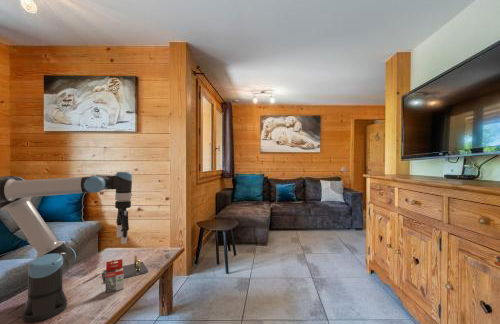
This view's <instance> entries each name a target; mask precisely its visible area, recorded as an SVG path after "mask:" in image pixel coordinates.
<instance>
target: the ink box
mask: <svg viewBox="0 0 500 324" xmlns="http://www.w3.org/2000/svg"><path fill="white" fill-rule="evenodd" d="M114 260H115V259H114ZM123 260H124V259H123V258H121V259H120V258H119V259H117V260H115V261H112V260H110V261H106V263H105V264H106V267H105V268H106V269H105V270H106V282H105V294H109V293H112V292H116V291H120V290H124V279H125V278H124V271H123V268H122V266H123ZM113 262H115V263H113ZM112 263H113V264H112Z"/></svg>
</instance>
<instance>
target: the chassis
mask: <svg viewBox="0 0 500 324" xmlns="http://www.w3.org/2000/svg"><path fill="white" fill-rule="evenodd" d="M111 261H115V259H113V260H111ZM113 263H116V262H113ZM113 263H111V264H113ZM122 268H123V271H124V279H127V278H130V277H134V276H135V277H136V276H138V275H144V274H146V273H149V269H148V267H147V266H146V265H145V263H144V262H143V261H141V259H138V255H134V261H133V263H130V264H127V265H122ZM102 273H103V277H104V281H105V283H106V269H104V270H103V271H102Z"/></svg>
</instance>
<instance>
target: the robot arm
mask: <svg viewBox="0 0 500 324" xmlns="http://www.w3.org/2000/svg"><path fill="white" fill-rule="evenodd" d="M132 184H133V174H132V172H130V171H117V172H116V174H115V175H110V174H109V175H104V174H103V175H102V174H95V175H94V174H93V175H91V176H77V177H76V176H75V177H61V178H59V177H58V178H43V179H42V178H41V179H40V178H39V179H24V178H22V177H19V176H16V175H15V176H14V175H7V176H5V175H4V176H0V210H3V211H7V212H8V213H9V215H10V216H11V218H12V219H13V221H14V222H15V224H16V225H17V227H18V228H19V229H20V230H21V231H22V232H23V234H24V236H25V237H26V239H27V240H28V242H29V243H30V244H31V246H32V247H33V249H34V250H35V251H36V253H37V254H36V256H35V258H34V259H32V260H31V261H30V263H28V269H27V300H26V302H25V305H24V307H23V309H22V313H21V321H22V322H24V323H37V322H41V321H42V322H43V321H44V320H48V319H50V318H52V317H55V316H57V315H59V314H60V313H62V312H63V311H65V310H66V308H67V307H68V298H67V297H66V294H65V292H64V288H63V283H64V282H63V279H64V277H63V276H64V275H65V274H66V273H67V272H68V271H69V270H70V269H72V268H73V265H74V264H75V262H76V258H77V254H76V251H75V250H74V249H73V248H72V247H70V246H67V245H66V244H65V242H64V241H59V240H58V239H57V237H56V236H55V235H54V233H53V232H52V230H51V228H49V226H48V224H47V223H46V222H45V220H44V218H43V217H42V216H41V215H40V212H39V211H38V210H37V209H36V207H35V206H34V204H33V203H32V201H31V199H32V198H34V197H49V196H61V195H71V194H72V195H73V194H89V193H91V194H92V193H93V194H95V193H96V194H97V193H100V192H101V191H107V190H115V195H114V196H115V197H114V198H115V203H114V208H115V209H117V217H116V238H121V239H120V244H121V245H124V244H128V232H129V229H130V227H129V211H128V210H127V209H130V208H131V207H132V201H131V199H132V196H133V193H132V188H133V185H132Z"/></svg>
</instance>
